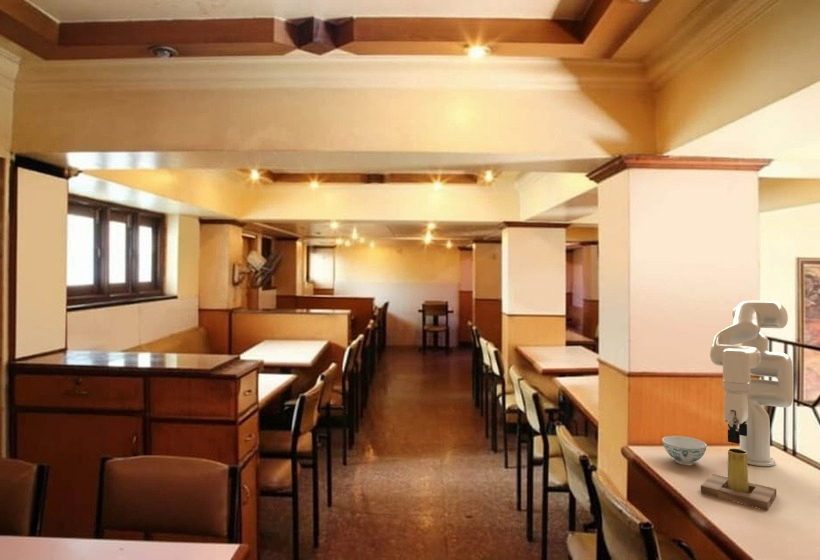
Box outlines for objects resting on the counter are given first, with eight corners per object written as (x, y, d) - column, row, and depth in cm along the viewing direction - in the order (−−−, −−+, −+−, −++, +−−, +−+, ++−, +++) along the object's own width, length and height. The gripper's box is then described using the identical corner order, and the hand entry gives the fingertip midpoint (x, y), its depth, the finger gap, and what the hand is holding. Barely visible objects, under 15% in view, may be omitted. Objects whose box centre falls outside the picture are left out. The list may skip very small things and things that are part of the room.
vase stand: (712, 480, 171) (712, 473, 171) (776, 496, 159) (776, 488, 159) (700, 493, 162) (700, 485, 162) (767, 510, 149) (767, 502, 149)
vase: (753, 499, 157) (752, 454, 157) (731, 497, 158) (731, 453, 158) (744, 491, 163) (743, 448, 163) (723, 490, 164) (723, 447, 164)
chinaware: (691, 454, 198) (691, 435, 198) (716, 468, 183) (715, 448, 183) (654, 455, 197) (654, 436, 197) (676, 469, 182) (676, 448, 182)
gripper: (730, 380, 169) (731, 430, 169) (716, 389, 157) (717, 443, 157) (756, 383, 164) (757, 434, 164) (743, 393, 152) (744, 448, 152)
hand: (737, 438), depth 161 cm, fingers open, 9 cm apart
